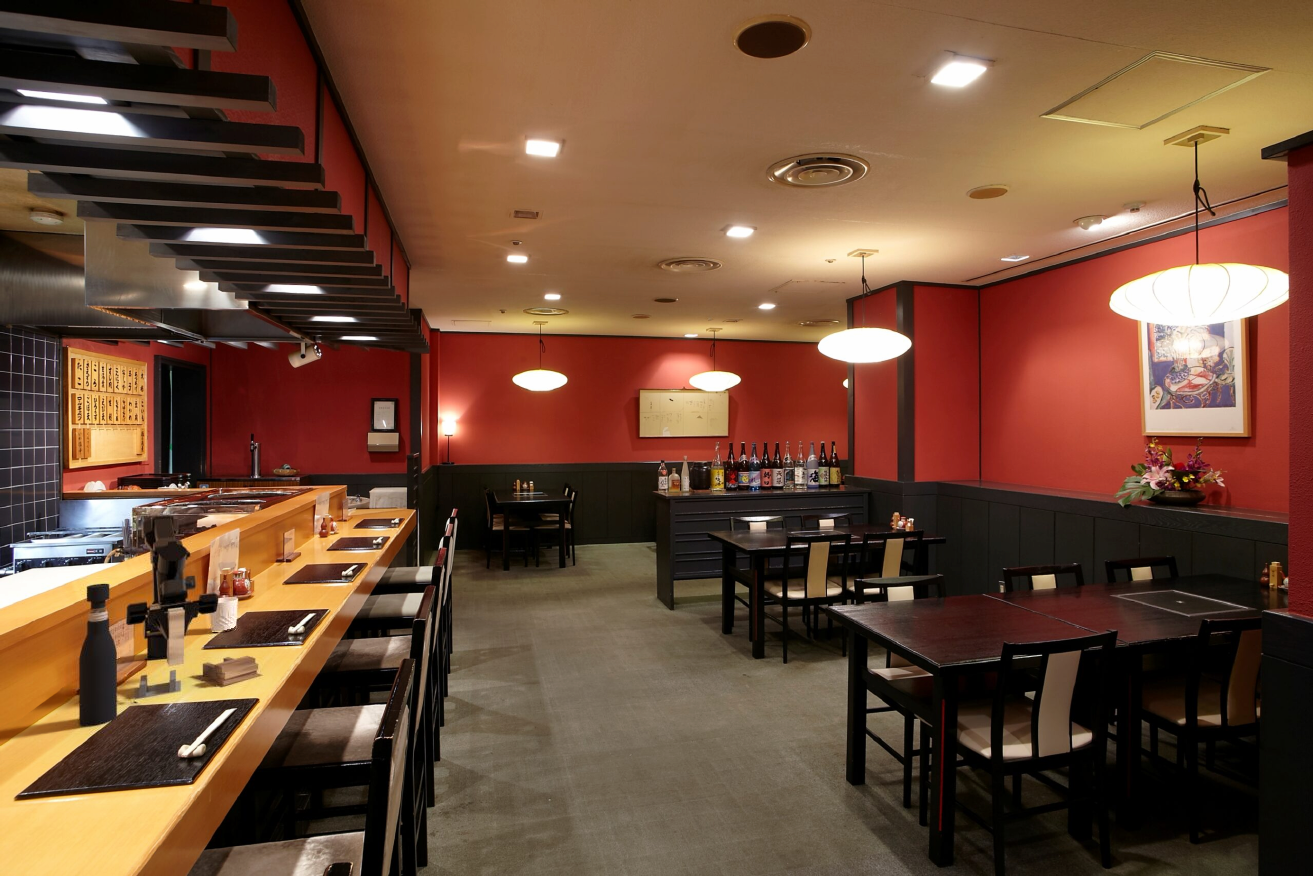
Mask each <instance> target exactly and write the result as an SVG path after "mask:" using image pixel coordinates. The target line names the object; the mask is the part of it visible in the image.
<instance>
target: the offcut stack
mask: <svg viewBox="0 0 1313 876" xmlns="http://www.w3.org/2000/svg"><path fill="white" fill-rule="evenodd" d="M213 664H214V663H213ZM258 670H259V664H258V663H257V662H256V658H255V657H252V656H249V655H245V656H241V657H236V658H233V660H229V661H225V662H222V661H221V662H219V663H215V664H214V671H217V676H216V683H219V684H221V685H226V684H230V683H233V682H237V681H240V680H243V679H247V678H250V677H254V676H257V673H258Z"/></svg>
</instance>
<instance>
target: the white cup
mask: <svg viewBox="0 0 1313 876" xmlns="http://www.w3.org/2000/svg"><path fill="white" fill-rule="evenodd" d="M238 603H239V598H238V597H235V596H231V597H230V596H229V597H228V596H227V597H218V605H217V610H216V612H214V613H209V618H210V619H209V620H210V627H211V632H212V631H214V632H215V631H223V630H227V629H231V628H234V627H235V626H236V627H237V620H238V606H239V604H238Z"/></svg>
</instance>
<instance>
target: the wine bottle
mask: <svg viewBox="0 0 1313 876" xmlns="http://www.w3.org/2000/svg"><path fill="white" fill-rule="evenodd" d="M107 600H108V601H109V600H110V583H97V584H96V583H95V584H90V585H87V586H86V602H88V603H90V611H89V613H88V620H87V622H86V623H87V624H86V636H85V638H84V641H83V644H82V646H81V649H80V652H79V653H80V654H79V659H78V661H79V662H78V664H79V666H78V668H79V669H78V672H79V673H78V674H79V675H78V677H79V678H78V684H79V685H78V687H79V688H78V689H79V690H78V691H79V692H78V693H79V694H78V695H79V696H78V698H79V699H78V700H79V701H78V703H79V705H78V708H79V709H78V710H79V711H78V713H79V714H78V715H79V720H78V723H79V725H80V726H81V727H93V726H99V725H103V724H106V723H109V722H111V721H114V720H115V719H117V717H118V681H117V680H118V652H117V648H116V644H115V643H116V642H115V640H114V638H113V636H112V634H111V632H110V619H109V618H108V617H109V615H108V614H109V612H108V610H107V606H106V601H107Z"/></svg>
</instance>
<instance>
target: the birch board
mask: <svg viewBox="0 0 1313 876" xmlns="http://www.w3.org/2000/svg"><path fill="white" fill-rule="evenodd" d="M184 613H185V611H184V610H183V608H174V609H168V632H169V639H167V658H166V663H167V665H168V667H173V666H179V665H180V666H181V665H184V664H185V660H184V659H185V658H184V657H185V636H184Z"/></svg>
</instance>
